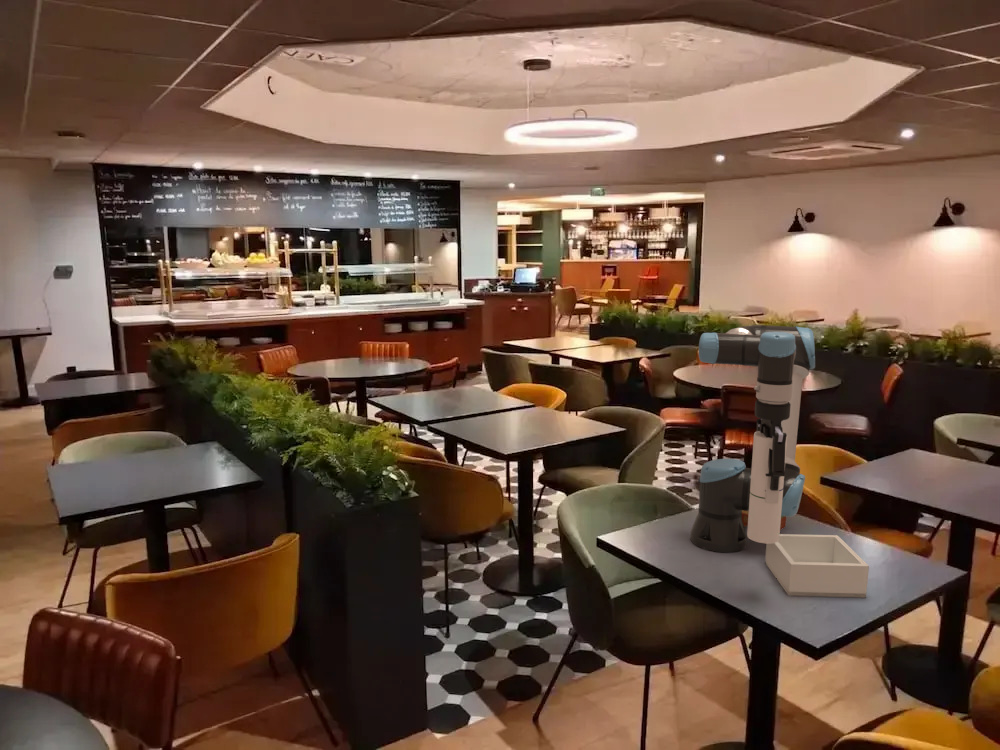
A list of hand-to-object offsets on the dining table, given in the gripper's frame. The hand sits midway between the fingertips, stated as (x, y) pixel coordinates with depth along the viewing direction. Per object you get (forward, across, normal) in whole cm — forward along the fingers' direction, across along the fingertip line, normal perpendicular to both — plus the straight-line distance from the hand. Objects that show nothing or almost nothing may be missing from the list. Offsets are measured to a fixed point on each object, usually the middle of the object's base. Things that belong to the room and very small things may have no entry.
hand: (766, 496), depth 168 cm
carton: (+25, -45, +12) cm, 53 cm away
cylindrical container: (+10, 0, 0) cm, 10 cm away
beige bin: (+25, -9, +16) cm, 31 cm away
